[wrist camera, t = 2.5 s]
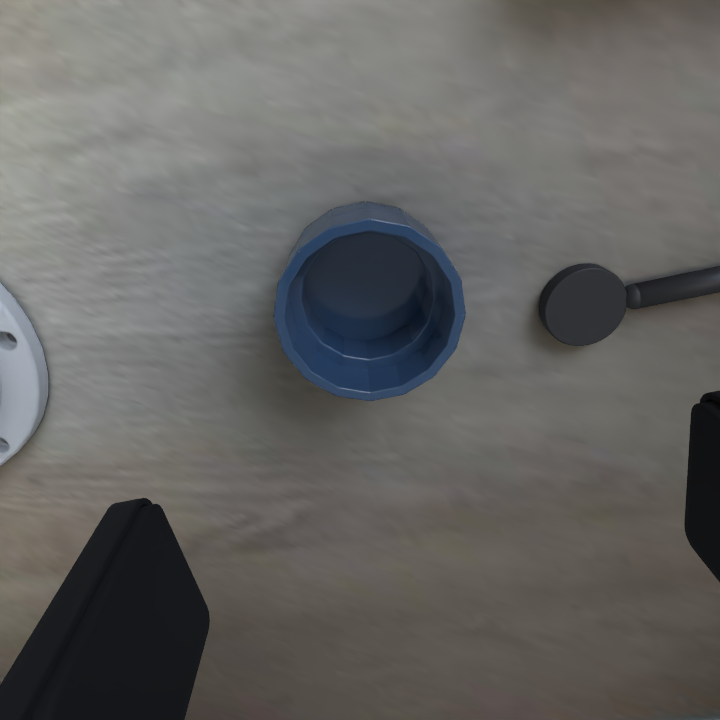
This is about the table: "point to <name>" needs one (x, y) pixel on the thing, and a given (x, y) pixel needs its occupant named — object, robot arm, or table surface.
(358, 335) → the bowl
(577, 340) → the spoon
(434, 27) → the table surface
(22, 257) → the table surface
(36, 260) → the table surface
